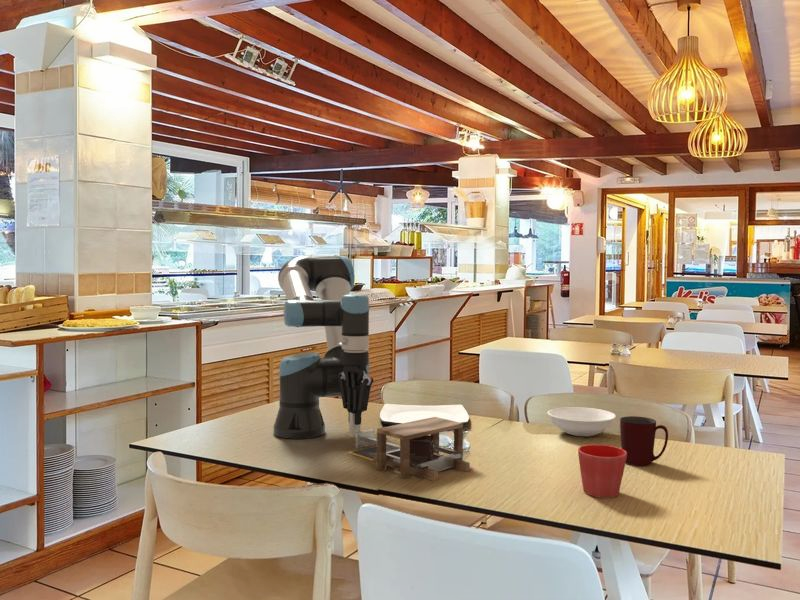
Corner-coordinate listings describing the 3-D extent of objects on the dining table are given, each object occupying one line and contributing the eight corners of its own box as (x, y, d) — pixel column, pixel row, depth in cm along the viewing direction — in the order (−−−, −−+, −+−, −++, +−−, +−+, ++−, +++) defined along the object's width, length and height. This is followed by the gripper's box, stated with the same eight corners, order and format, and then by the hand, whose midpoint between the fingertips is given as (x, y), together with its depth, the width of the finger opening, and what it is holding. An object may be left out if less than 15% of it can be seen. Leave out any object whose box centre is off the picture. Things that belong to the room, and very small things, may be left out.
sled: (341, 452, 201) (341, 435, 201) (385, 442, 212) (385, 426, 212) (417, 477, 180) (417, 457, 179) (463, 464, 191) (463, 446, 190)
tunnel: (361, 464, 192) (361, 424, 191) (418, 450, 205) (419, 413, 205) (422, 484, 175) (422, 440, 175) (480, 467, 189) (480, 427, 189)
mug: (671, 463, 195) (672, 420, 194) (661, 471, 188) (663, 427, 187) (625, 455, 202) (626, 414, 201) (614, 463, 194) (615, 420, 194)
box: (430, 470, 187) (430, 441, 186) (406, 468, 188) (406, 439, 188) (434, 463, 193) (434, 435, 192) (410, 462, 194) (411, 434, 194)
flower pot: (636, 494, 169) (637, 452, 169) (602, 503, 163) (603, 459, 163) (600, 482, 178) (601, 441, 177) (566, 490, 172) (567, 448, 172)
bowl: (591, 425, 237) (591, 405, 237) (629, 440, 218) (630, 418, 218) (534, 429, 231) (535, 408, 231) (569, 445, 212) (569, 422, 212)
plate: (472, 431, 229) (472, 422, 229) (377, 430, 229) (377, 421, 229) (465, 411, 257) (465, 403, 257) (381, 410, 258) (381, 402, 258)
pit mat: (348, 452, 202) (348, 451, 202) (381, 445, 210) (381, 444, 210) (372, 460, 195) (372, 459, 195) (406, 452, 203) (406, 451, 203)
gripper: (329, 349, 210) (329, 433, 211) (359, 354, 200) (359, 442, 202) (350, 347, 215) (350, 429, 216) (381, 351, 205) (380, 437, 207)
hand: (354, 435), depth 209 cm, fingers closed
